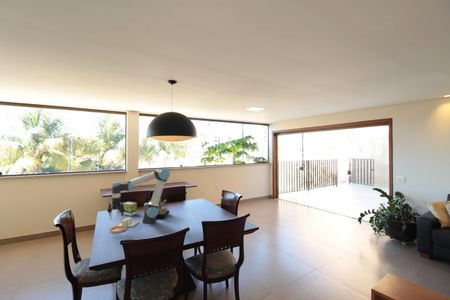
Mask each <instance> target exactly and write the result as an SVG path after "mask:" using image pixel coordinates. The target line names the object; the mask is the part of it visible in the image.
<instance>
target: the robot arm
mask: <svg viewBox="0 0 450 300" xmlns="http://www.w3.org/2000/svg"><path fill="white" fill-rule="evenodd" d="M170 175H171V173H170V171H169V170H168V169H167V168H162V167H160V168H158V169H156V170H153V171H152V172H151V173H147V174H143V175H142V176H139V177H136V178H133V179H130V180H126V181H124V182H122V181H121V182H122V183H121V182H120V181H114V182H112V186H111V187H112V188H111V191H112V192H111V193H112V195H111V197H112V198H111V201H110V202H108V207H107V210H106V212H107V213H108V216H109V220H112V219H113V210H114V208H116V207H117V208H118V210H119V211H120V213H119V216H120V221H122V219H123V216H124V214H123V212H125V209H124V205H123V203H124V202H121V192H126V191H127V192H129V191H134V187H136V186H138V185H140V184H143V183H146V182H149V181H151V180H156V183H155V186H154V187H155V188H154V190H153V193H152V196H151V199H150V200H151V201H150V202H145V203H144V204H143V208H144V209H143V217H142V218H143V219H142V224H144V225H154V224H156V223H157V218H155V216H157V214H158V208H159V204H158V203H159V200H160V199H161V197H162V193H163V190H164V186H165V183H167V182H168V179H169V178H170Z"/></svg>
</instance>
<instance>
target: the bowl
mask: <svg viewBox="0 0 450 300" xmlns="http://www.w3.org/2000/svg"><path fill="white" fill-rule="evenodd" d="M126 230H127V227H126V226H115V227H113V226H112V227H110V228H109V233H111V234H118V233H122V232H125V231H126Z"/></svg>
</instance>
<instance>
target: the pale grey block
mask: <svg viewBox="0 0 450 300" xmlns="http://www.w3.org/2000/svg"><path fill="white" fill-rule="evenodd" d="M125 219H126V218H124V219H123V220H122V219H121V221H122V226H127V225H128V220H125Z"/></svg>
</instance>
